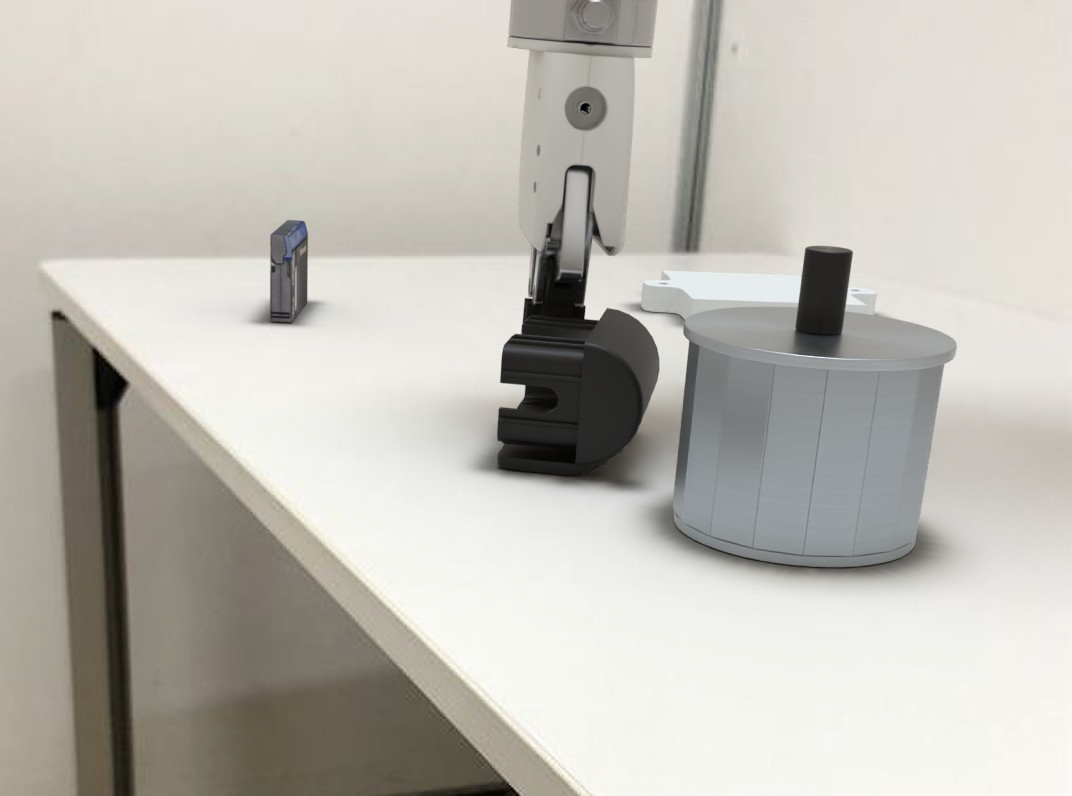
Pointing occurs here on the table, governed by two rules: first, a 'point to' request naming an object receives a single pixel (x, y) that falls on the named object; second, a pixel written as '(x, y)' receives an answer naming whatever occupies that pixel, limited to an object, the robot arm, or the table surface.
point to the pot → (803, 460)
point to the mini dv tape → (288, 271)
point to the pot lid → (821, 327)
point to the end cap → (575, 391)
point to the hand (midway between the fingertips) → (548, 373)
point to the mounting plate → (734, 292)
